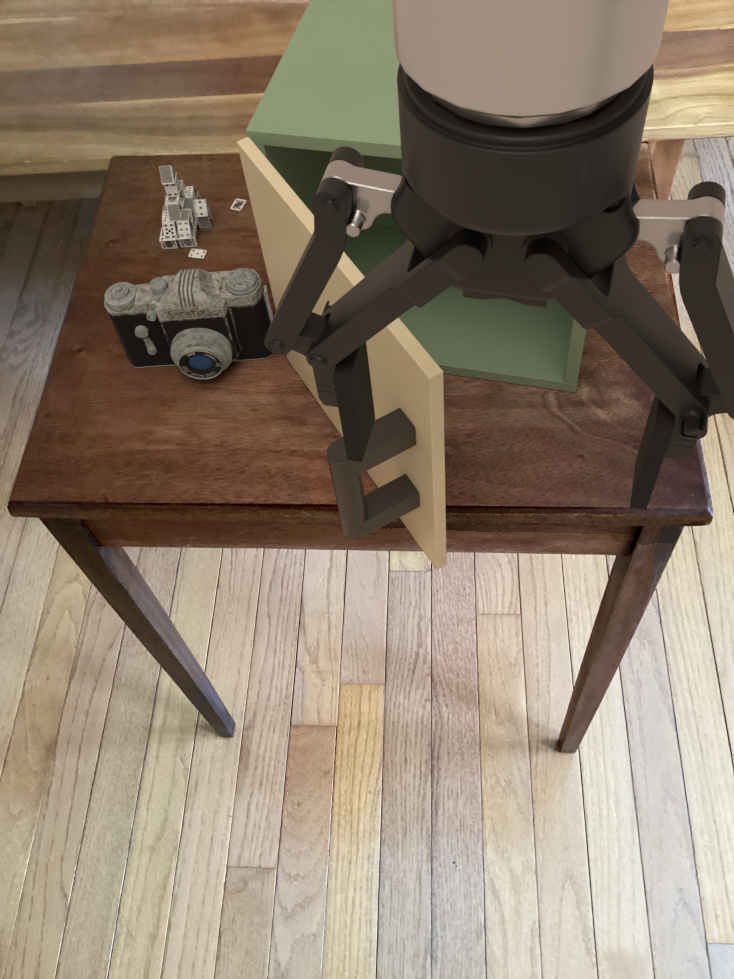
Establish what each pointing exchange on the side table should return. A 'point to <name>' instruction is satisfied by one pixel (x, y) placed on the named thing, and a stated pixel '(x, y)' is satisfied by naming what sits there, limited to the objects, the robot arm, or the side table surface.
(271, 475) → the side table surface
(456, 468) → the side table surface
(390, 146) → the cupboard
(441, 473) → the cupboard door
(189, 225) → the house of cards
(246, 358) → the camera
